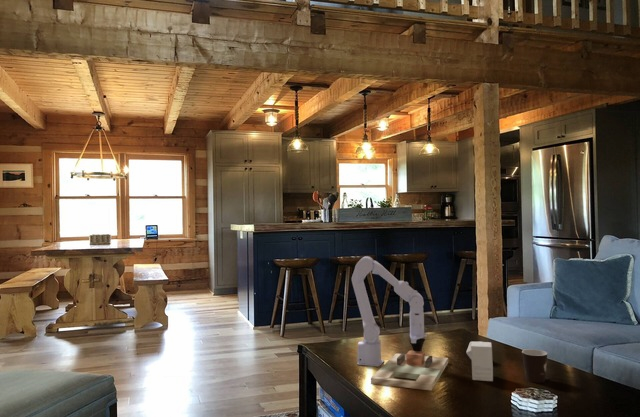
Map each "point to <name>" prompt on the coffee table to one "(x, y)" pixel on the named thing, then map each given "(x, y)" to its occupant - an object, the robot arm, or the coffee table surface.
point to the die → (470, 350)
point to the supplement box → (482, 361)
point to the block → (415, 358)
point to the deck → (410, 372)
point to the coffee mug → (535, 365)
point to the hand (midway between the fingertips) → (417, 357)
